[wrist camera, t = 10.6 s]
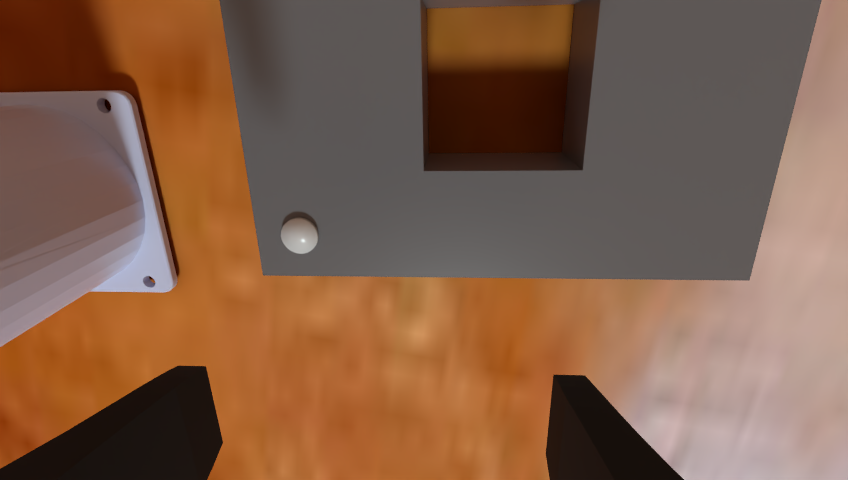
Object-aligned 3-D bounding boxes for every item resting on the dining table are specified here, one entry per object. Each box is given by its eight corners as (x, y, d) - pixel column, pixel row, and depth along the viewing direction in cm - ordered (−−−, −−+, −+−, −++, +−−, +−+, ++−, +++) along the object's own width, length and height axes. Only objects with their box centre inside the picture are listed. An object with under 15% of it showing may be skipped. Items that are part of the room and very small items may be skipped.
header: (291, 243, 19) (260, 277, 16) (245, -115, 14) (190, -162, 11) (702, 245, 18) (753, 283, 15) (784, -142, 13) (879, -200, 10)
